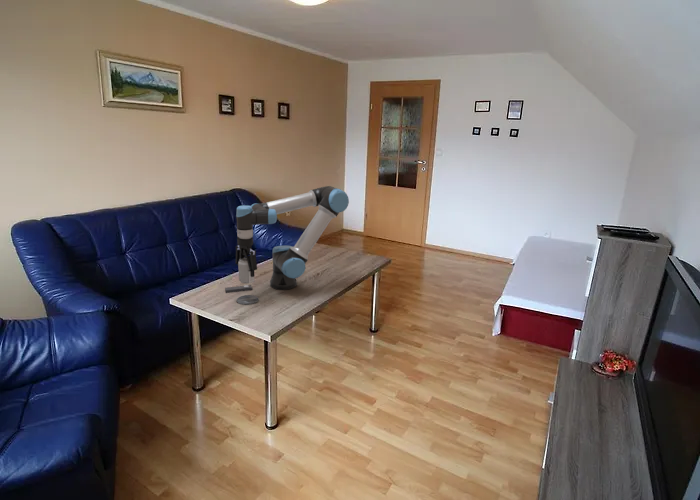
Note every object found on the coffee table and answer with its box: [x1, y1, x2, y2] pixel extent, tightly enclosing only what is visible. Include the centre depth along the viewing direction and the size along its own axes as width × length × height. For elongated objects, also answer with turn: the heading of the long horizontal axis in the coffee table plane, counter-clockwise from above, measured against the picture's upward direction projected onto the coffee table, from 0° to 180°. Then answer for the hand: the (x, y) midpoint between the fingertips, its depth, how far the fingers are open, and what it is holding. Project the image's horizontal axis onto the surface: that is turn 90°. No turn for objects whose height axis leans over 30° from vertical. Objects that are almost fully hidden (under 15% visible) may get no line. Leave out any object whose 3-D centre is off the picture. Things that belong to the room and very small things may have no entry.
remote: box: [224, 284, 253, 294], centre depth 220 cm, size 14×4×2 cm, turn 112°
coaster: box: [236, 294, 259, 306], centre depth 208 cm, size 11×11×1 cm
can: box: [237, 258, 250, 284], centre depth 204 cm, size 8×8×12 cm
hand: (246, 280), depth 205 cm, fingers closed on can, 7 cm apart
